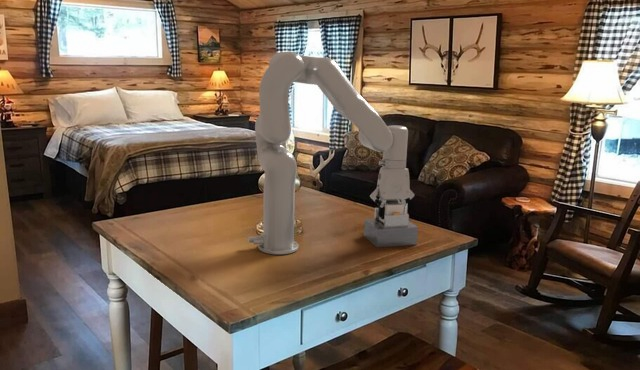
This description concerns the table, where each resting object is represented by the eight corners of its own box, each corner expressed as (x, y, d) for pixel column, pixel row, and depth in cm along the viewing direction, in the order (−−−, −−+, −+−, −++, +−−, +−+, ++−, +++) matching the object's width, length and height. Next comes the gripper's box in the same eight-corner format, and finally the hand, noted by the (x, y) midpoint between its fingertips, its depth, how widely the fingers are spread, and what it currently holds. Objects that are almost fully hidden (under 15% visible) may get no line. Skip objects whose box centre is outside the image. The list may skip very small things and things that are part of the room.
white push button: (385, 224, 178) (387, 203, 177) (379, 219, 184) (380, 198, 182) (402, 223, 180) (404, 202, 178) (395, 218, 186) (396, 197, 184)
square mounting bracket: (376, 247, 176) (378, 215, 174) (363, 235, 187) (365, 205, 185) (422, 244, 180) (424, 213, 178) (407, 233, 192) (409, 203, 189)
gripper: (373, 166, 172) (370, 222, 176) (423, 165, 177) (419, 219, 181) (365, 162, 179) (362, 215, 183) (413, 161, 184) (410, 213, 188)
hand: (391, 217), depth 182 cm, fingers closed on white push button, 5 cm apart
